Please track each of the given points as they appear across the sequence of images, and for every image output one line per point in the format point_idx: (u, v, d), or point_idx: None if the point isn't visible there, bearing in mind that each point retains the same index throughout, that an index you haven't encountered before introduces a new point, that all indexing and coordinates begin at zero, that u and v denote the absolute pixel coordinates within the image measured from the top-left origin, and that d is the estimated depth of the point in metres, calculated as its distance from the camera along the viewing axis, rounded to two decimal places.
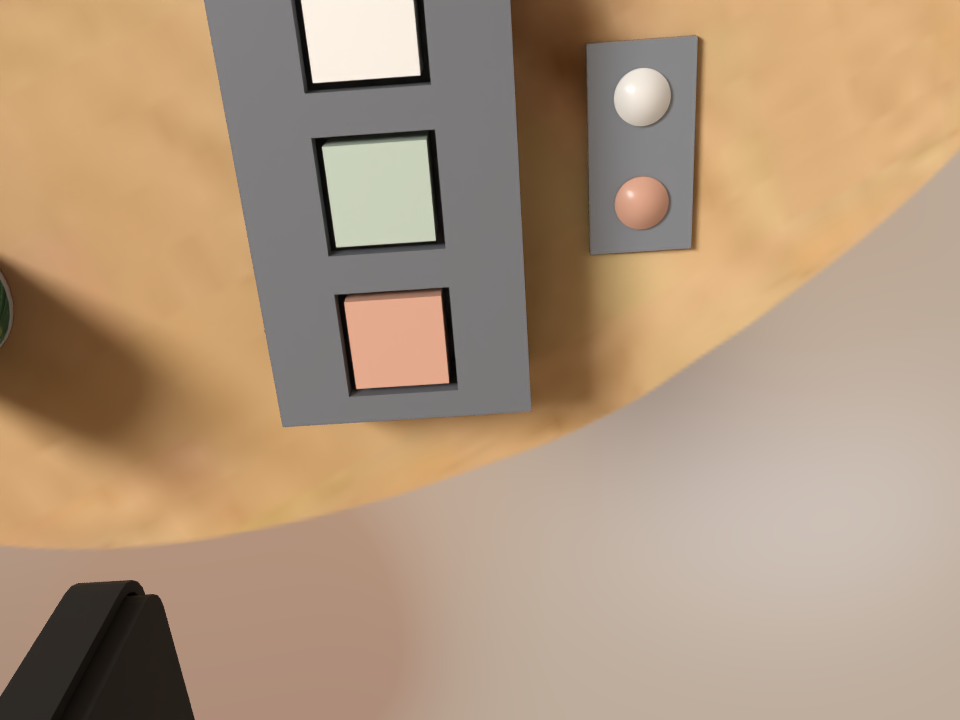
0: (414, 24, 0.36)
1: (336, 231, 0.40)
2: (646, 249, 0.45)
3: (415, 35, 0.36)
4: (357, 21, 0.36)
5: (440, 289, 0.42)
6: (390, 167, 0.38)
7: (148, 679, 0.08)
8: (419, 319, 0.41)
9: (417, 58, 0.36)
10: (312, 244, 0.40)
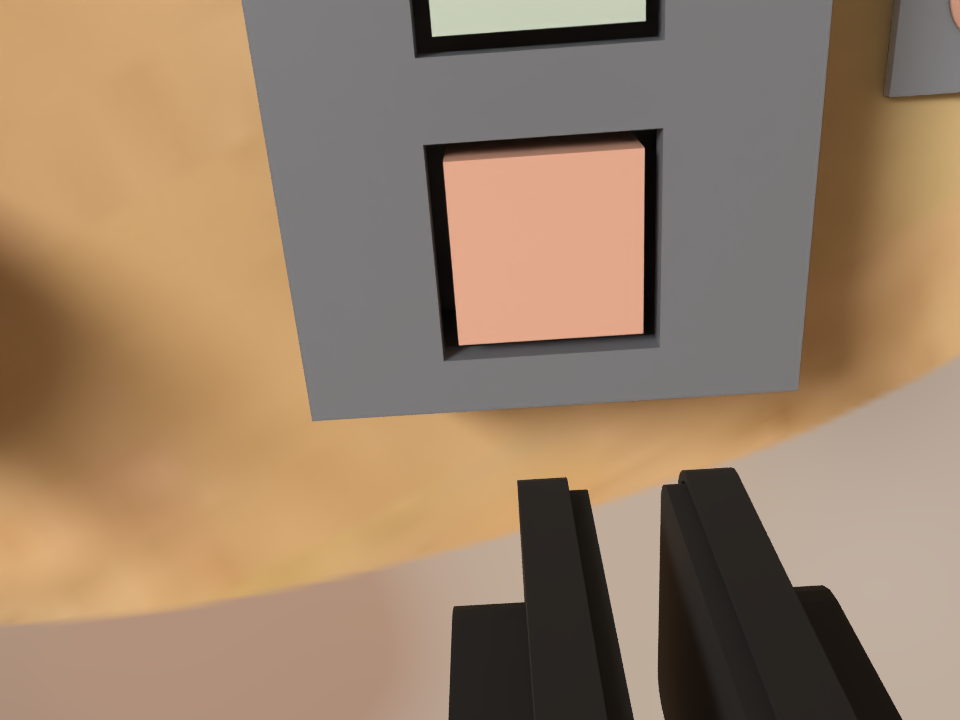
0: None
1: None
2: None
3: None
4: None
5: (635, 140, 0.20)
6: None
7: None
8: (594, 199, 0.20)
9: None
10: (381, 29, 0.19)
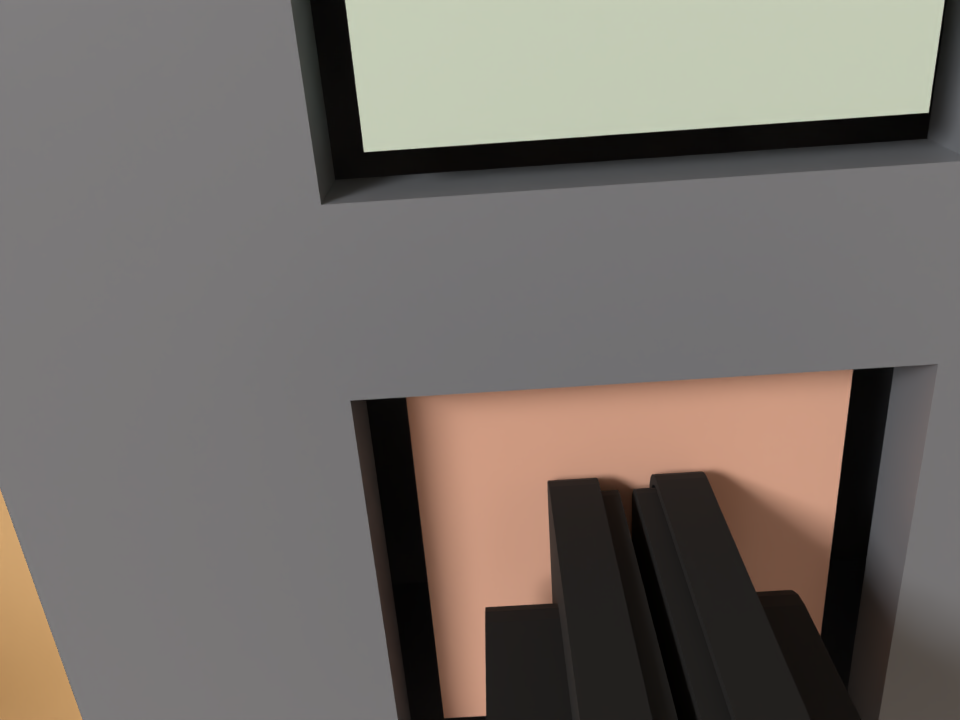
0: None
1: (366, 55, 0.07)
2: None
3: None
4: None
5: None
6: None
7: None
8: (734, 466, 0.09)
9: None
10: (230, 134, 0.07)
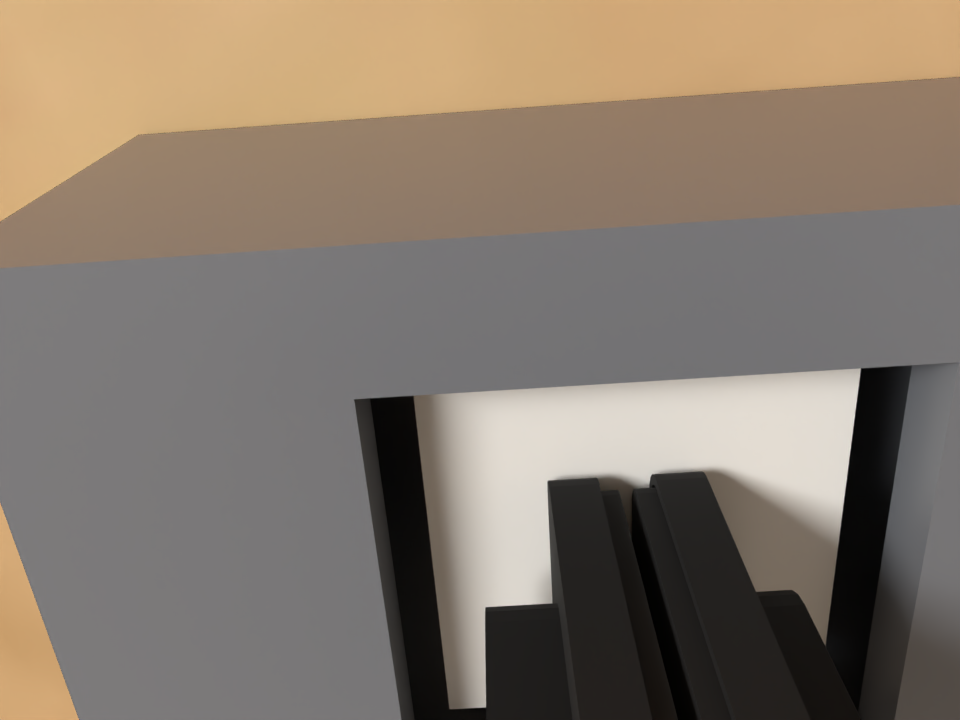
0: (833, 558, 0.10)
1: None
2: None
3: (828, 588, 0.10)
4: None
5: None
6: None
7: None
8: None
9: None
10: None
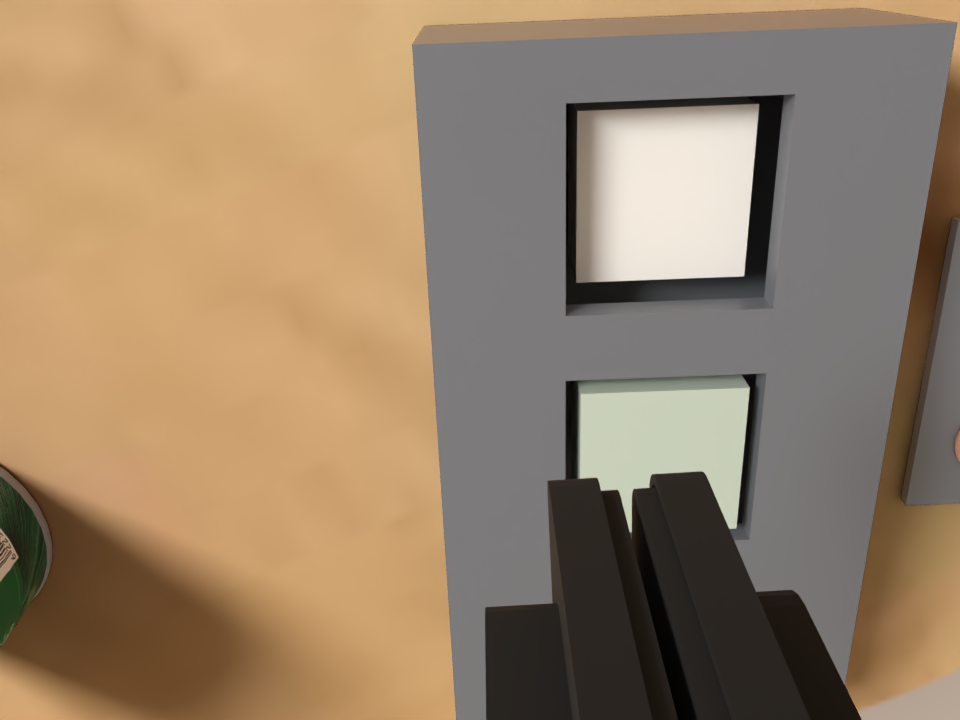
0: (748, 202, 0.23)
1: None
2: None
3: (747, 219, 0.23)
4: (660, 197, 0.23)
5: None
6: (684, 426, 0.24)
7: None
8: None
9: (743, 252, 0.23)
10: (543, 529, 0.25)
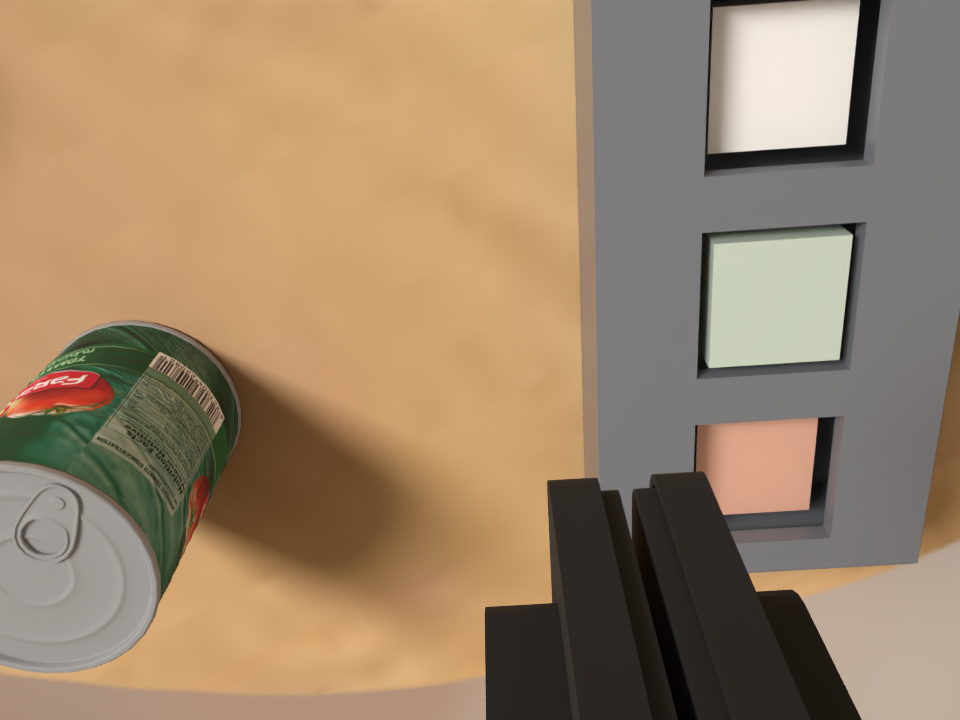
0: (850, 80, 0.28)
1: (713, 348, 0.30)
2: None
3: (849, 94, 0.28)
4: (778, 77, 0.28)
5: None
6: (798, 270, 0.29)
7: None
8: (786, 436, 0.33)
9: (845, 123, 0.29)
10: (679, 364, 0.31)
